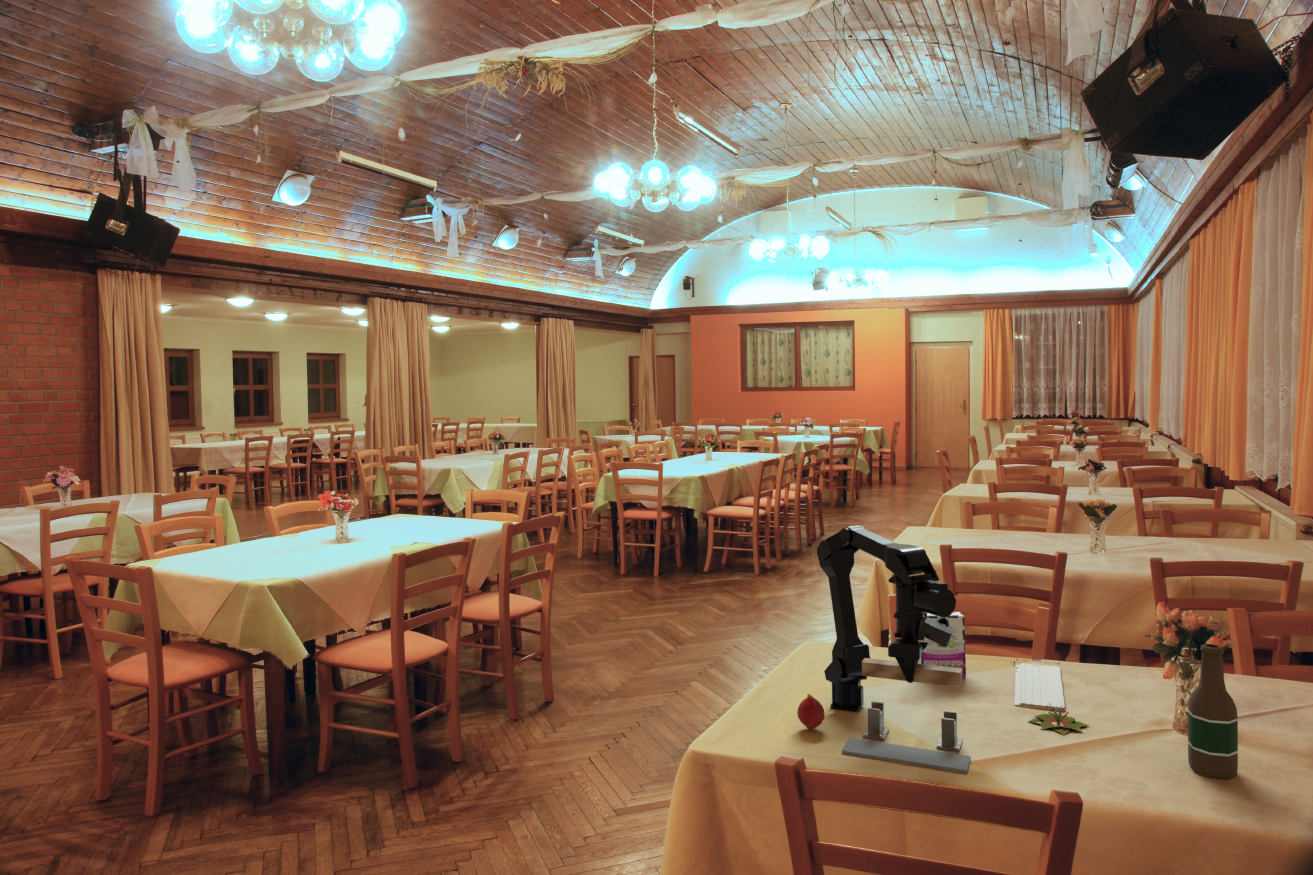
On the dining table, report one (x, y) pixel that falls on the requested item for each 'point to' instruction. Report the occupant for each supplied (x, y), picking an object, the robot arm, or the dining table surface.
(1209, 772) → the beer bottle
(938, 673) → the rail
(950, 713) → the post right
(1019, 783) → the dining table surface
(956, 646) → the candy bar box
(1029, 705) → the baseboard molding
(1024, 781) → the dining table surface
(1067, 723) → the lily flower
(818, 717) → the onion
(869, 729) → the post left
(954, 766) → the mat
